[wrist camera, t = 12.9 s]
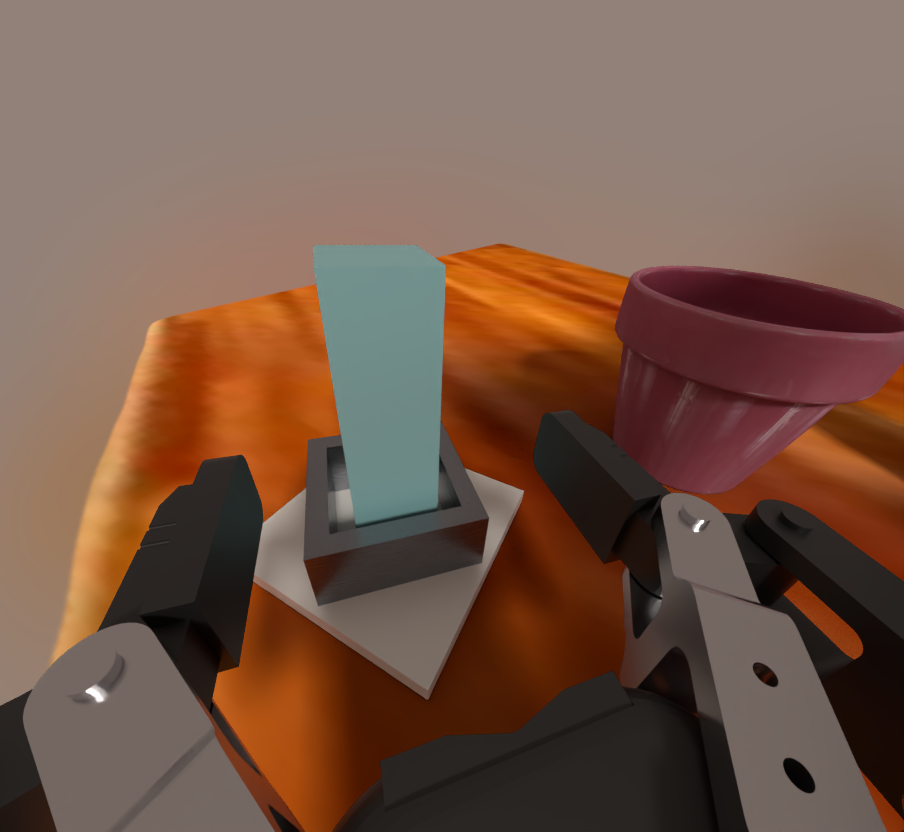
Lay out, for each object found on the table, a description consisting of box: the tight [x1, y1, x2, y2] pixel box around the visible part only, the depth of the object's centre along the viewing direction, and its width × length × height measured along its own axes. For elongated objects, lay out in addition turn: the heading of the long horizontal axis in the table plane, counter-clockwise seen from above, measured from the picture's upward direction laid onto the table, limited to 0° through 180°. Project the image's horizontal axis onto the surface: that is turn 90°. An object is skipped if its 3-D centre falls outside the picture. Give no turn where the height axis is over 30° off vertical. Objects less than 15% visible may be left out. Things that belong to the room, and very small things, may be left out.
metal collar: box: [303, 421, 489, 606], centre depth 19 cm, size 8×8×4 cm
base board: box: [253, 468, 524, 700], centre depth 20 cm, size 12×12×1 cm
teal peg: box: [313, 245, 446, 529], centre depth 16 cm, size 4×4×14 cm
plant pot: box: [613, 266, 904, 494], centre depth 24 cm, size 14×14×13 cm
